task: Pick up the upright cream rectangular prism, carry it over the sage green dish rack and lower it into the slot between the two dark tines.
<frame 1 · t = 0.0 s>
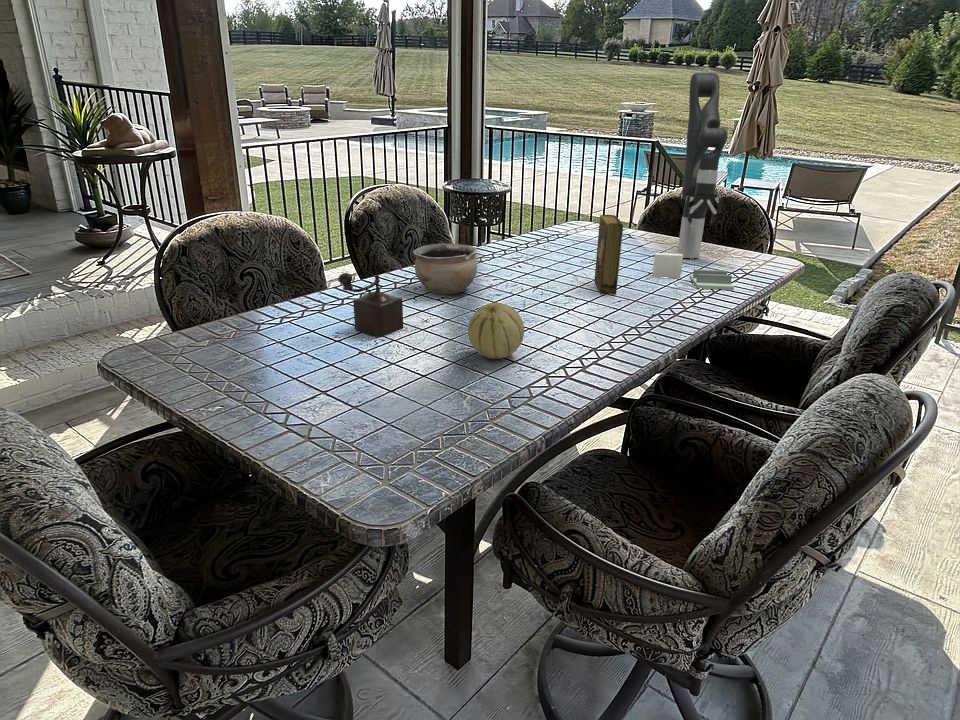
hand: (700, 223, 258), 17 cm above the table, tool pointing down, fingers open, 8 cm apart
ceramic bowl: (445, 292, 224), on the table
cream rectangular prism: (665, 277, 246), on the table
manual coffee grinder: (372, 332, 186), on the table
book: (604, 289, 230), on the table
dish rack: (710, 284, 237), on the table
cantaloupe: (495, 357, 170), on the table
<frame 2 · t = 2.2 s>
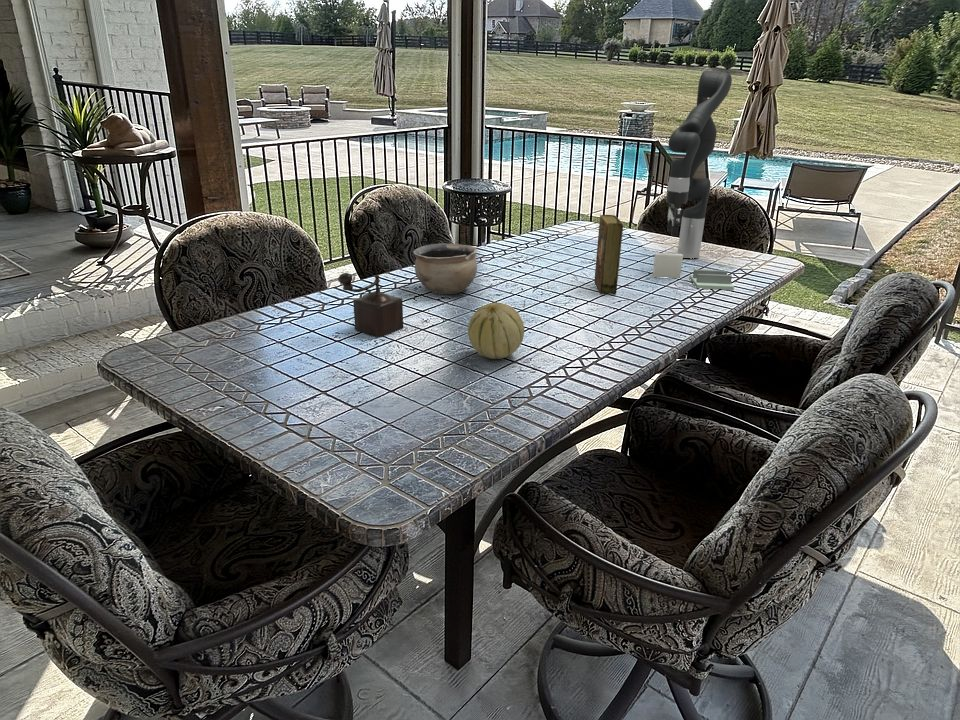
hand: (672, 234, 239), 17 cm above the table, tool pointing down, fingers open, 8 cm apart
nothing on the table moved.
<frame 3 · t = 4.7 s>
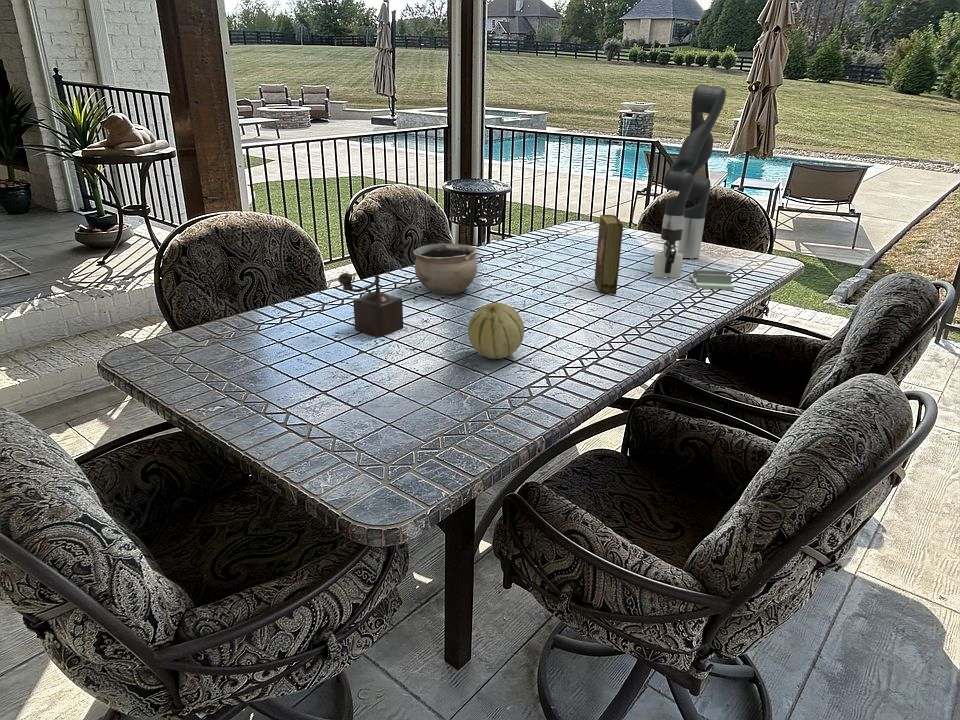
hand: (666, 271, 245), 2 cm above the table, tool pointing down, fingers closed on cream rectangular prism, 3 cm apart
cream rectangular prism: (665, 277, 246), on the table, touching gripper
everything else where it was.
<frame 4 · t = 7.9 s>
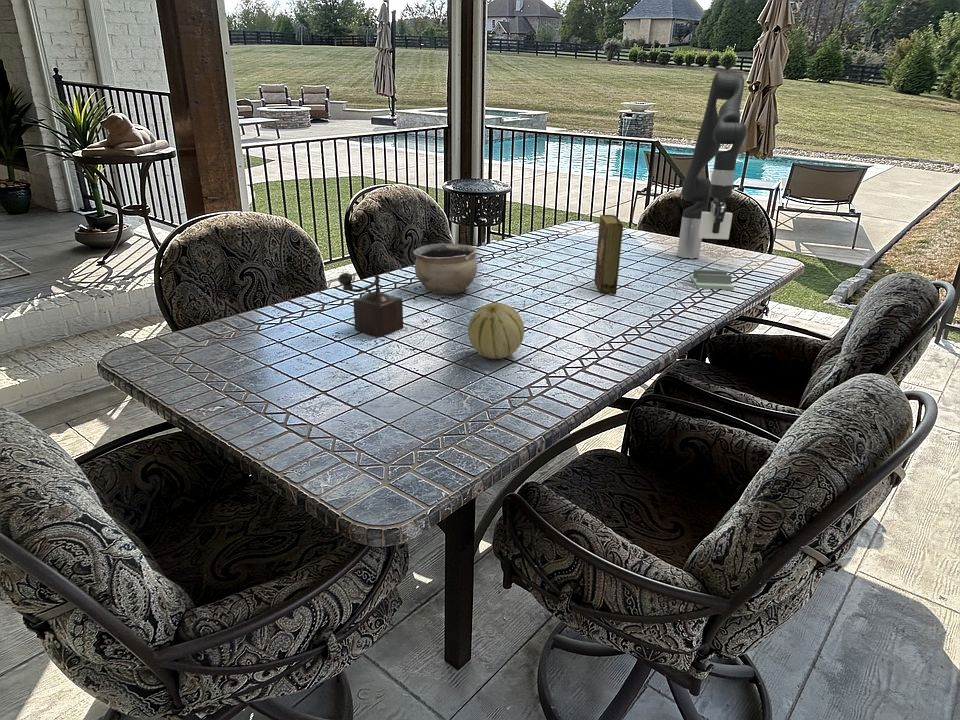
hand: (714, 232, 230), 19 cm above the table, tool pointing down, fingers closed on cream rectangular prism, 3 cm apart
cream rectangular prism: (713, 237, 231), point 17 cm above the table, touching gripper
everything else where it was.
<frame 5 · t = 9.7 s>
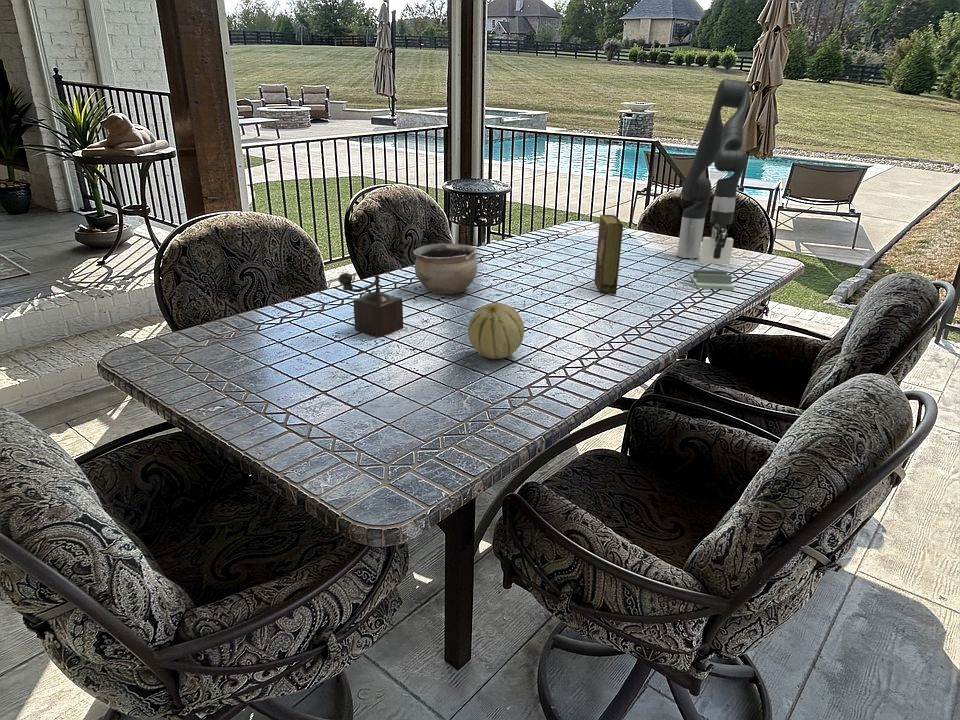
hand: (715, 256, 233), 10 cm above the table, tool pointing down, fingers closed on cream rectangular prism, 3 cm apart
cream rectangular prism: (714, 262, 234), point 8 cm above the table, touching gripper
everything else where it was.
when the fingers open (6 cm above the table, at t = 11.2 s): cream rectangular prism drops 2 cm, resting on dish rack.
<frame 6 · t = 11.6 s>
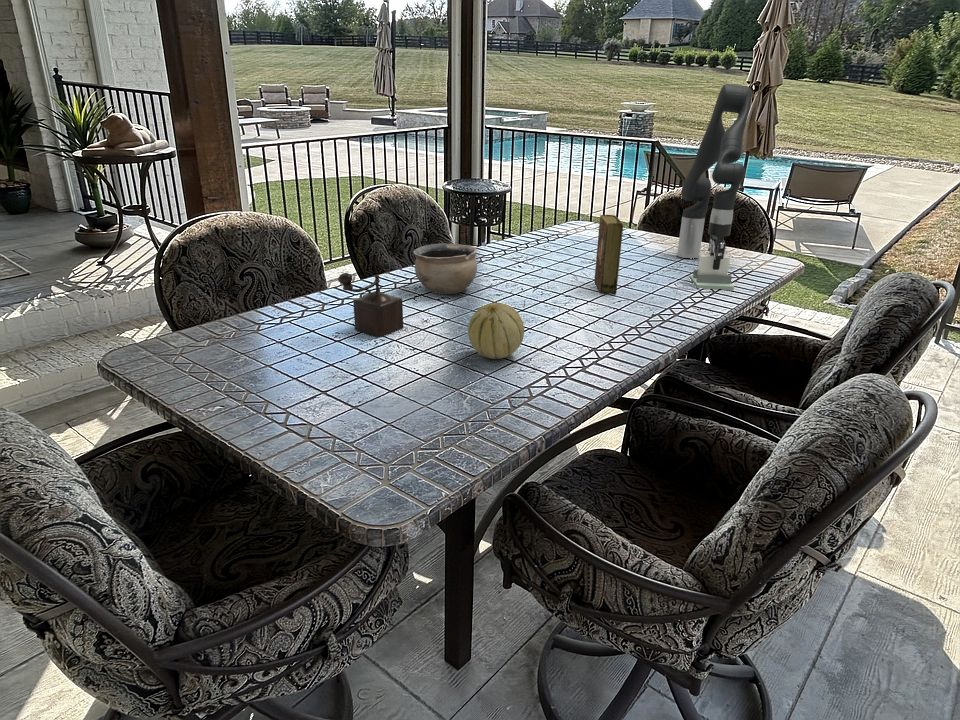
hand: (713, 266, 235), 7 cm above the table, tool pointing down, fingers open, 6 cm apart
cream rectangular prism: (711, 280, 237), point 1 cm above the table, touching dish rack
everything else where it was.
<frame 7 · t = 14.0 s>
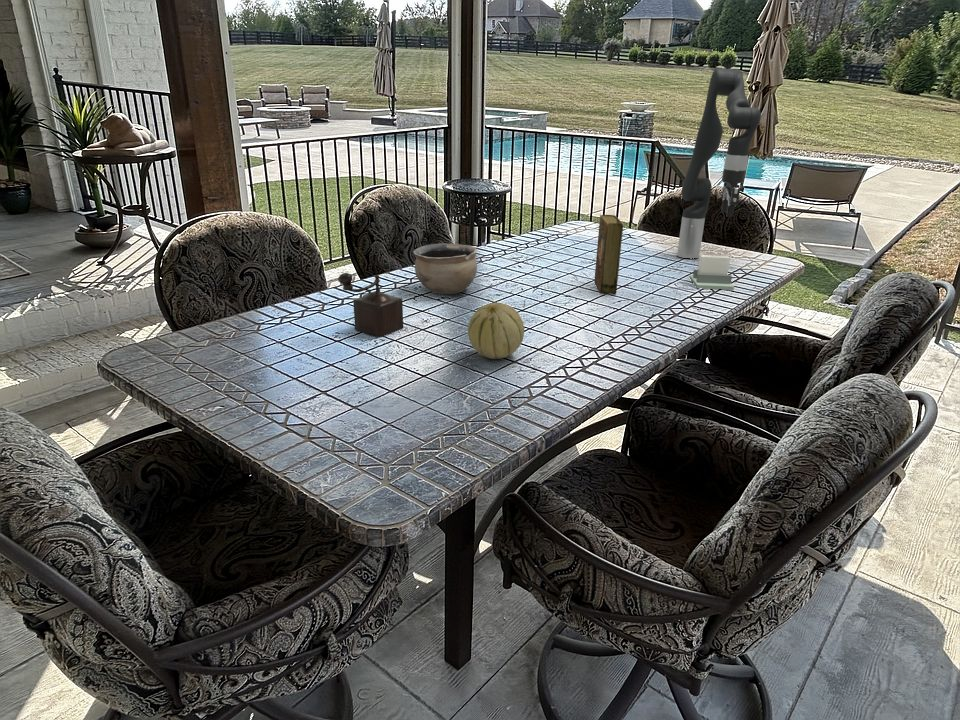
hand: (726, 214, 231), 25 cm above the table, tool pointing down, fingers open, 8 cm apart
nothing on the table moved.
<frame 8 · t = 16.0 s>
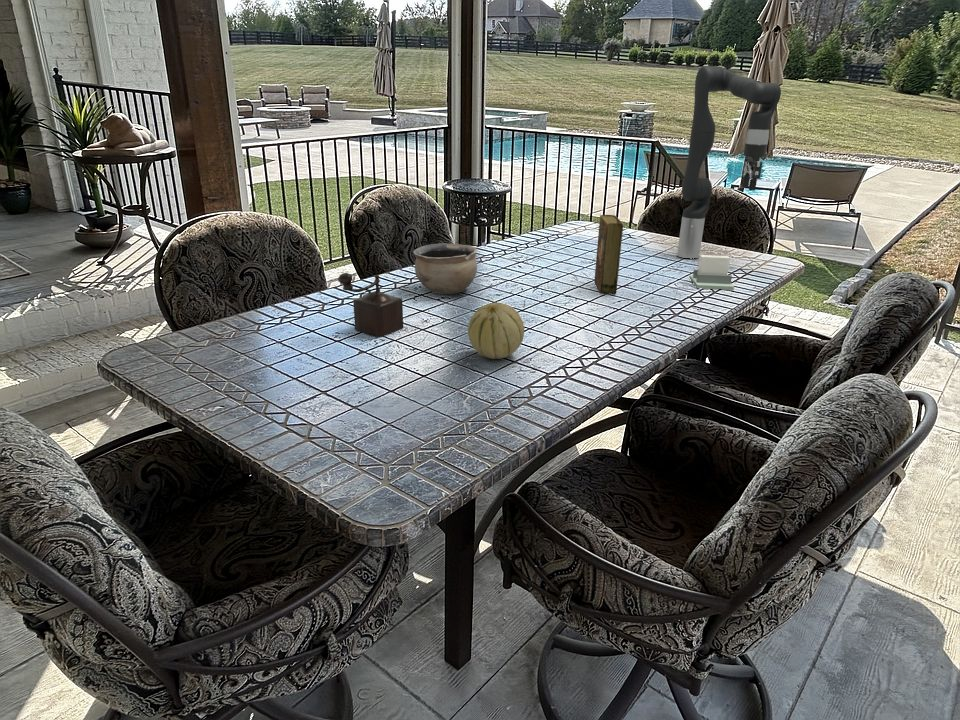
hand: (748, 188, 237), 33 cm above the table, tool pointing down, fingers open, 8 cm apart
nothing on the table moved.
at the end: cream rectangular prism 0.1 cm off-centre on the dish rack, point 1.5 cm above the dish rack's base; cream rectangular prism tilted 0°; the gripper is holding nothing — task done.
